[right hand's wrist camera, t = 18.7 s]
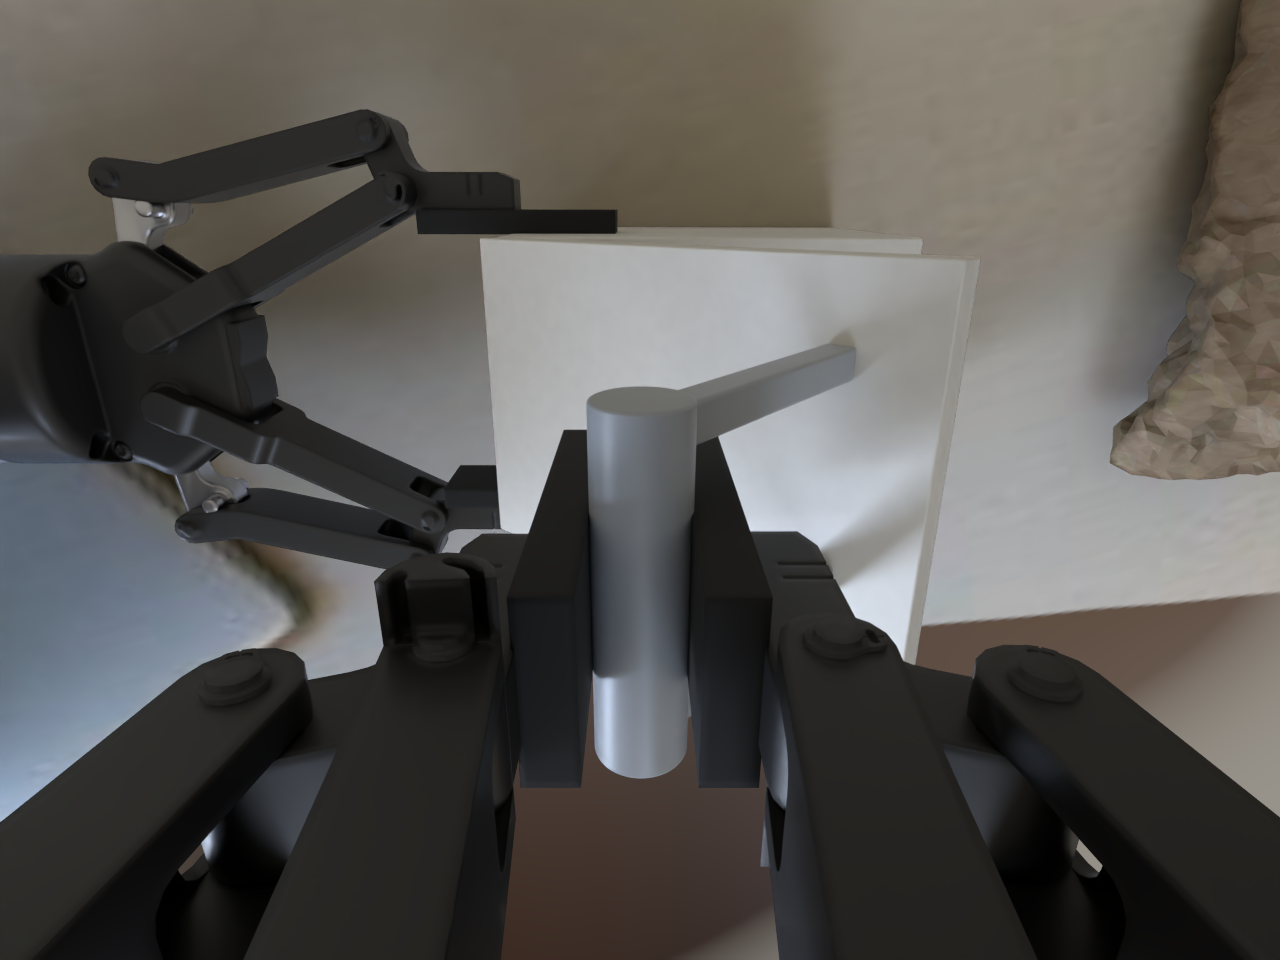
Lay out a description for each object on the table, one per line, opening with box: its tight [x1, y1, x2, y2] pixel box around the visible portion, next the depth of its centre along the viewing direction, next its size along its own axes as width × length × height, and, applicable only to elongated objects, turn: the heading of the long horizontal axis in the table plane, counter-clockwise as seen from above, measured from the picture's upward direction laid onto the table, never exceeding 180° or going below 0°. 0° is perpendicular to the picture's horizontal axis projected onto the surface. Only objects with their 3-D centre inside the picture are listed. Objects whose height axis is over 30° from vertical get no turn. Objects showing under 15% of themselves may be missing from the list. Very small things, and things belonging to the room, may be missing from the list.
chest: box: [496, 227, 923, 254], centre depth 28 cm, size 13×9×11 cm
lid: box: [480, 237, 981, 778], centre depth 16 cm, size 13×9×8 cm
